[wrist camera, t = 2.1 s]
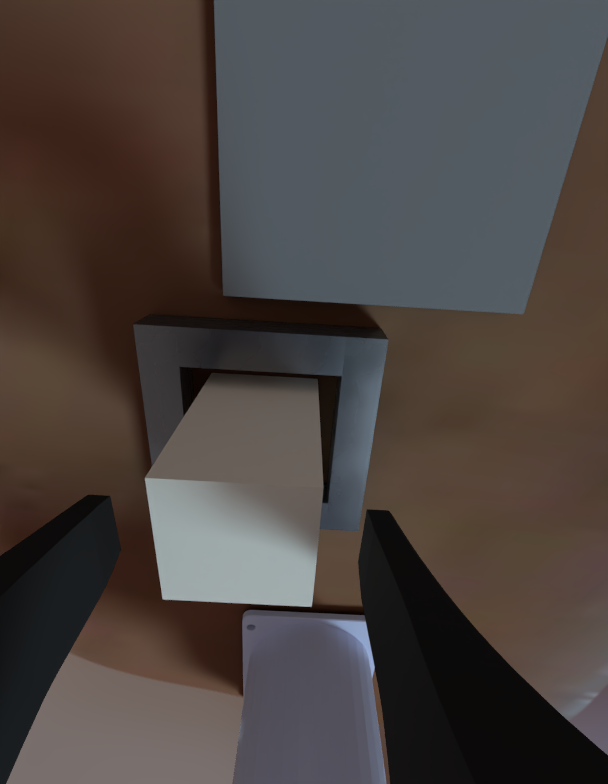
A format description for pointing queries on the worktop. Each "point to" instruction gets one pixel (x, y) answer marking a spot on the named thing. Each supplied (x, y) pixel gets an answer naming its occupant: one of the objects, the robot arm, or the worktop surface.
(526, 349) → the worktop surface
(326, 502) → the square socket
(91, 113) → the worktop surface
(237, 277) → the rubber mat
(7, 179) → the worktop surface
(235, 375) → the square peg block
